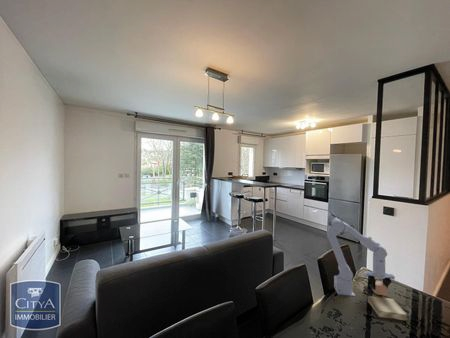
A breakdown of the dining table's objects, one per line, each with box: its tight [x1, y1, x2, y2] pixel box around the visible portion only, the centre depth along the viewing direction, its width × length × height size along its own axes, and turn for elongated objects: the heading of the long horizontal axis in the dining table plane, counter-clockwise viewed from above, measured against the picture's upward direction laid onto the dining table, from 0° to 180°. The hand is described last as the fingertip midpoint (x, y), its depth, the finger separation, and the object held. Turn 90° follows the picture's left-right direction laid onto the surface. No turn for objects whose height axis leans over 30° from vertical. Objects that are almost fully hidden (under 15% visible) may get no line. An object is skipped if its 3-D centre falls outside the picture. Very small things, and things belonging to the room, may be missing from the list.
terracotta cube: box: [371, 280, 388, 296], centre depth 114 cm, size 5×5×5 cm
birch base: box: [367, 295, 408, 321], centre depth 103 cm, size 12×12×3 cm
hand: (379, 289), depth 114 cm, fingers closed on terracotta cube, 5 cm apart
